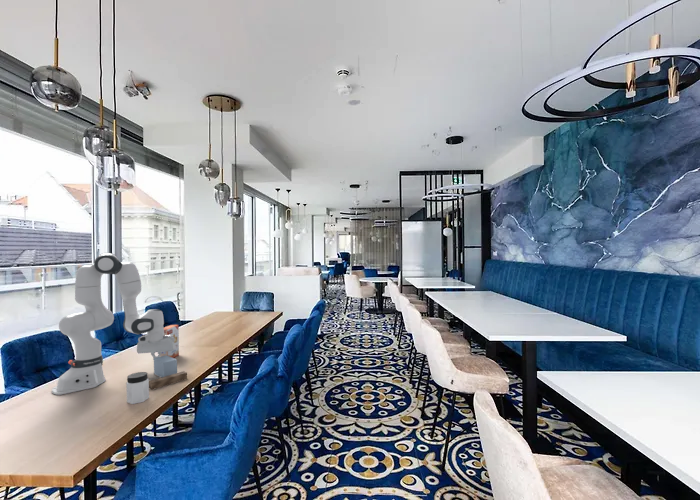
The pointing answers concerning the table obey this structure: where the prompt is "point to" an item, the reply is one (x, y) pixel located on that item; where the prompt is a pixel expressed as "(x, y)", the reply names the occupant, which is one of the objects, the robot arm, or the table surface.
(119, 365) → the table surface
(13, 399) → the table surface
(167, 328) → the cracker box
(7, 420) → the table surface
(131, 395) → the jar
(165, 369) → the brick
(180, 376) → the board
